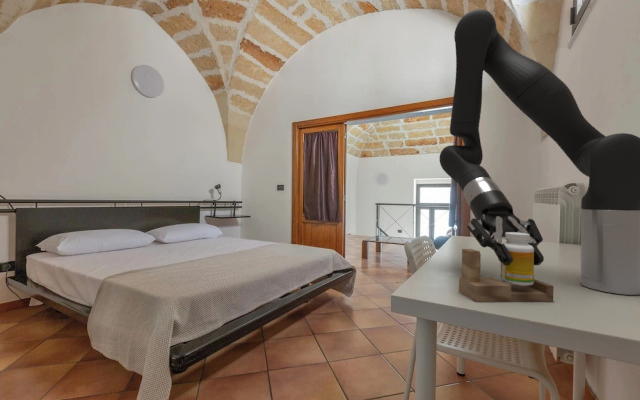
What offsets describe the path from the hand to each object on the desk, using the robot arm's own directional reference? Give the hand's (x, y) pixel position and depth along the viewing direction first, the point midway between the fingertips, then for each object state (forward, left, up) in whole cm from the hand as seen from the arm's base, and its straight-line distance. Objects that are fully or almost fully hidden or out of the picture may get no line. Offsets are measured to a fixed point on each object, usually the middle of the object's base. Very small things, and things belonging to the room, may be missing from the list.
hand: (524, 262), depth 53 cm
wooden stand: (+3, -2, -7) cm, 8 cm away
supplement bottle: (0, -2, -4) cm, 5 cm away
